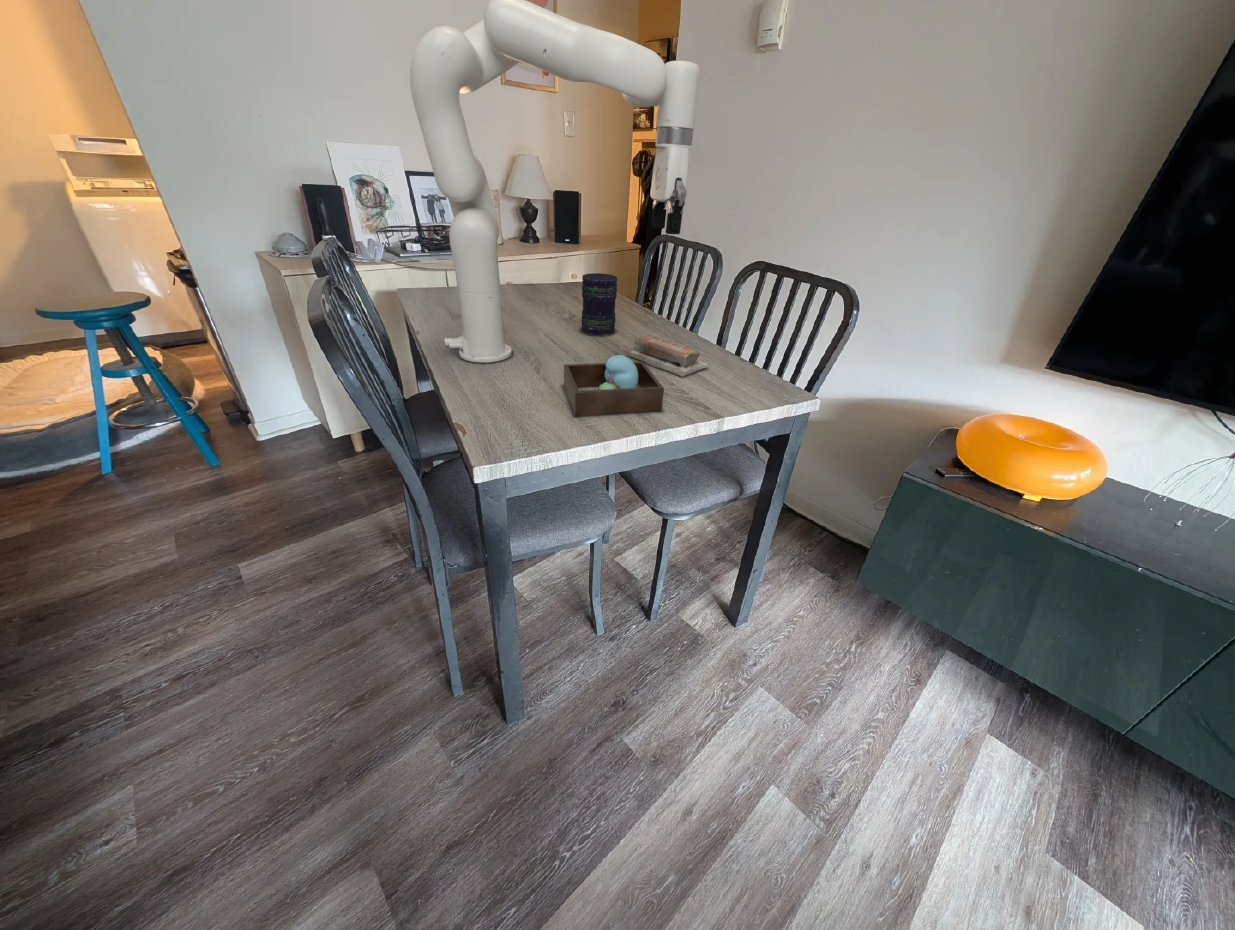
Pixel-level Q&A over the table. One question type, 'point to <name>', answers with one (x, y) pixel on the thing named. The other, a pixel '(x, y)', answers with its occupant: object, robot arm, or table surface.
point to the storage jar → (598, 304)
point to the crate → (610, 391)
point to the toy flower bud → (620, 373)
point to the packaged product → (667, 355)
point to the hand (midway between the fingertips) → (665, 230)
